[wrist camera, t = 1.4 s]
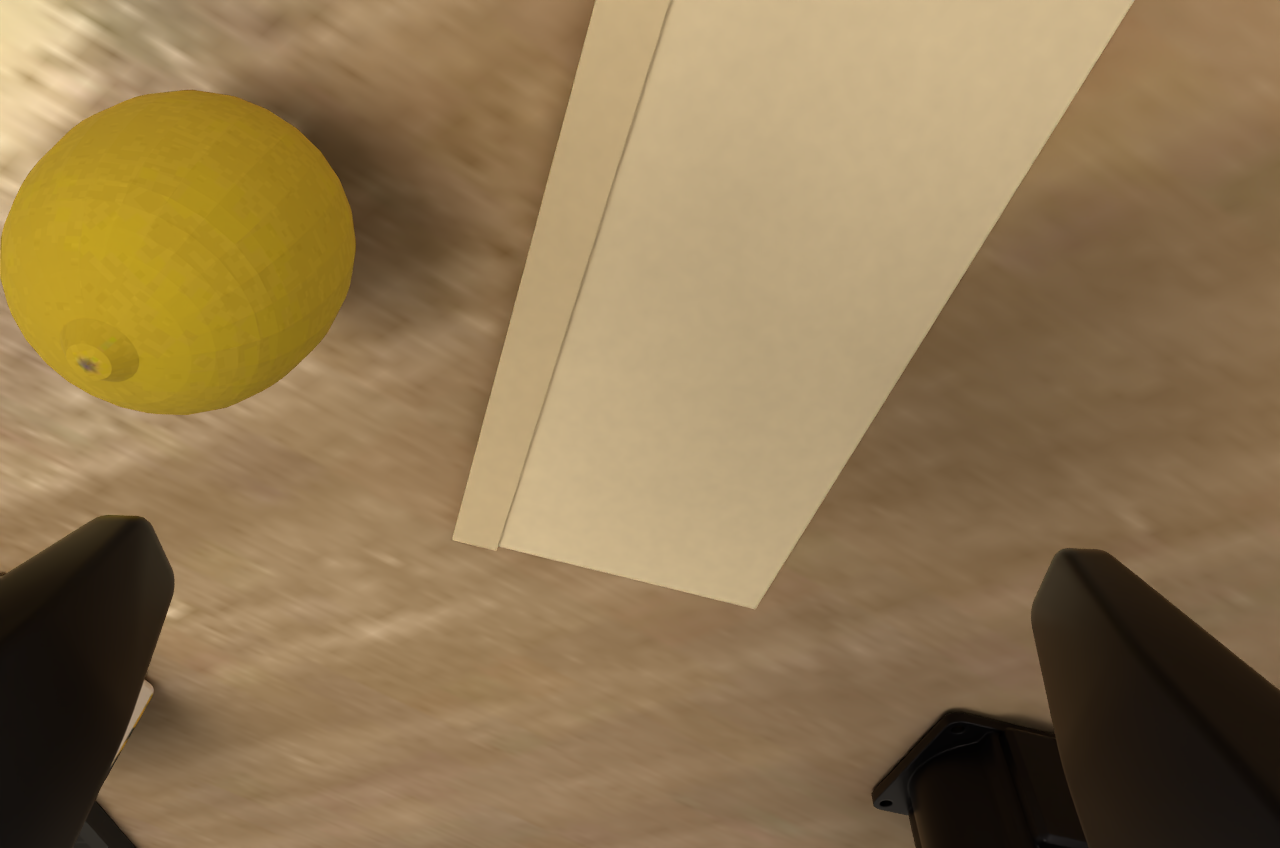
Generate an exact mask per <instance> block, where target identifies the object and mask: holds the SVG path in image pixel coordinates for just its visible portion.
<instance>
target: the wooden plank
mask: <svg viewBox="0 0 1280 848" xmlns="http://www.w3.org/2000/svg"><path fill="white" fill-rule="evenodd" d="M1133 2H1134V0H595V4H594V8H593V11H592V15H591V19H590V23H589V26H588V30H587V34H586V38H585V41H584V45H583V49H582V53H581V56H580V60H579V64H578V68H577V71H576V75H575V79H574V83H573V87H572V90H571V94H570V98H569V102H568V105H567V109H566V113H565V117H564V120H563V124H562V128H561V132H560V135H559V139H558V143H557V147H556V150H555V154H554V158H553V162H552V165H551V169H550V173H549V177H548V180H547V184H546V188H545V192H544V195H543V199H542V203H541V207H540V210H539V214H538V218H537V222H536V225H535V229H534V233H533V237H532V240H531V244H530V248H529V252H528V255H527V259H526V263H525V267H524V271H523V274H522V278H521V282H520V286H519V289H518V293H517V297H516V301H515V304H514V308H513V312H512V316H511V319H510V323H509V327H508V331H507V334H506V338H505V342H504V346H503V349H502V353H501V357H500V361H499V364H498V368H497V372H496V376H495V379H494V383H493V387H492V391H491V394H490V398H489V402H488V406H487V409H486V413H485V417H484V421H483V424H482V428H481V432H480V436H479V440H478V443H477V447H476V451H475V455H474V458H473V462H472V466H471V470H470V473H469V477H468V481H467V485H466V488H465V492H464V496H463V500H462V503H461V507H460V511H459V515H458V518H457V522H456V526H455V530H454V533H453V537H452V540H453V541H457V542H461V543H465V544H469V545H474V546H478V547H482V548H486V549H490V550H494V551H497V548H498V546H499V547H503V548H507V549H511V550H515V551H519V552H523V553H527V554H531V555H535V556H539V557H544V558H548V559H552V560H556V561H560V562H564V563H568V564H572V565H576V566H580V567H584V568H588V569H593V570H597V571H601V572H605V573H609V574H613V575H617V576H621V577H625V578H629V579H633V580H637V581H641V582H646V583H650V584H654V585H658V586H662V587H666V588H670V589H674V590H678V591H682V592H686V593H690V594H695V595H699V596H703V597H707V598H711V599H715V600H719V601H723V602H727V603H731V604H735V605H739V606H744V607H748V608H752V609H756V607H757V606H758V604H759V602H760V601H761V599H762V598H763V596H764V594H765V593H766V591H767V590H768V588H769V586H770V585H771V583H772V582H773V580H774V578H775V577H776V575H777V574H778V572H779V570H780V569H781V567H782V565H783V564H784V562H785V561H786V559H787V557H788V556H789V554H790V553H791V551H792V549H793V548H794V546H795V545H796V543H797V541H798V540H799V538H800V537H801V535H802V533H803V532H804V530H805V529H806V527H807V525H808V524H809V522H810V521H811V519H812V517H813V516H814V514H815V512H816V511H817V509H818V508H819V506H820V504H821V503H822V501H823V500H824V498H825V496H826V495H827V493H828V492H829V490H830V488H831V487H832V485H833V484H834V482H835V480H836V479H837V477H838V476H839V474H840V472H841V471H842V469H843V468H844V466H845V464H846V463H847V461H848V459H849V458H850V456H851V455H852V453H853V451H854V450H855V448H856V447H857V445H858V443H859V442H860V440H861V439H862V437H863V435H864V434H865V432H866V431H867V429H868V427H869V426H870V424H871V423H872V421H873V419H874V418H875V416H876V415H877V413H878V411H879V410H880V408H881V407H882V405H883V403H884V402H885V400H886V398H887V397H888V395H889V394H890V392H891V390H892V389H893V387H894V386H895V384H896V382H897V381H898V379H899V378H900V376H901V374H902V373H903V371H904V370H905V368H906V366H907V365H908V363H909V362H910V360H911V358H912V357H913V355H914V354H915V352H916V350H917V349H918V347H919V345H920V344H921V342H922V341H923V339H924V337H925V336H926V334H927V333H928V331H929V329H930V328H931V326H932V325H933V323H934V321H935V320H936V318H937V317H938V315H939V313H940V312H941V310H942V309H943V307H944V305H945V304H946V302H947V301H948V299H949V297H950V296H951V294H952V292H953V291H954V289H955V288H956V286H957V284H958V283H959V281H960V280H961V278H962V276H963V275H964V273H965V272H966V270H967V268H968V267H969V265H970V264H971V262H972V260H973V259H974V257H975V256H976V254H977V252H978V251H979V249H980V248H981V246H982V244H983V243H984V241H985V240H986V238H987V236H988V235H989V233H990V231H991V230H992V228H993V227H994V225H995V223H996V222H997V220H998V219H999V217H1000V215H1001V214H1002V212H1003V211H1004V209H1005V207H1006V206H1007V204H1008V203H1009V201H1010V199H1011V198H1012V196H1013V195H1014V193H1015V191H1016V190H1017V188H1018V187H1019V185H1020V183H1021V182H1022V180H1023V178H1024V177H1025V175H1026V174H1027V172H1028V170H1029V169H1030V167H1031V166H1032V164H1033V162H1034V161H1035V159H1036V158H1037V156H1038V154H1039V153H1040V151H1041V150H1042V148H1043V146H1044V145H1045V143H1046V142H1047V140H1048V138H1049V137H1050V135H1051V134H1052V132H1053V130H1054V129H1055V127H1056V125H1057V124H1058V122H1059V121H1060V119H1061V117H1062V116H1063V114H1064V113H1065V111H1066V109H1067V108H1068V106H1069V105H1070V103H1071V101H1072V100H1073V98H1074V97H1075V95H1076V93H1077V92H1078V90H1079V89H1080V87H1081V85H1082V84H1083V82H1084V81H1085V79H1086V77H1087V76H1088V74H1089V72H1090V71H1091V69H1092V68H1093V66H1094V64H1095V63H1096V61H1097V60H1098V58H1099V56H1100V55H1101V53H1102V52H1103V50H1104V48H1105V47H1106V45H1107V44H1108V42H1109V40H1110V39H1111V37H1112V36H1113V34H1114V32H1115V31H1116V29H1117V28H1118V26H1119V24H1120V23H1121V21H1122V20H1123V18H1124V16H1125V15H1126V13H1127V11H1128V10H1129V8H1130V7H1131V5H1132V3H1133Z"/></svg>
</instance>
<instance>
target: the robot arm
mask: <svg viewBox="0 0 1280 848" xmlns="http://www.w3.org/2000/svg"><path fill="white" fill-rule="evenodd" d="M173 592H174V574H173V570H172V567H171V565H170V563H169V561H168V559H167V557H166V555H165V552H164V550H163V548H162V546H161V544H160V542H159V540H158V537H157V535H156V533H155V531H154V529H153V527H152V525H151V523H150V522H148V521H147V520H146V519H145V518H143V517H139V516H119V515H105V516H100V517H97V518H95V519H93V520H92V521H90V522H88V523H87V524H85V525H83V526H82V527H80V528H79V529H77V530H75V531H74V532H72V533H71V534H69V535H67V536H66V537H64V538H63V539H61V540H59V541H58V542H56V543H55V544H53V545H51V546H50V547H48V548H47V549H45V550H43V551H42V552H40V553H39V554H37V555H35V556H34V557H32V558H31V559H29V560H27V561H26V562H24V563H23V564H21V565H19V566H18V567H16V568H15V569H13V570H11V571H10V572H8V573H7V574H5V575H3V576H2V577H0V848H73V846H74V844H75V842H76V840H77V838H78V836H79V834H80V831H81V829H82V827H83V825H84V823H85V821H86V818H87V816H88V814H89V812H90V810H91V808H92V806H93V803H94V801H95V799H96V797H97V795H98V793H99V790H100V788H101V786H102V784H103V782H104V780H105V778H106V775H107V773H108V771H109V769H110V767H111V765H112V762H113V760H114V758H115V756H116V754H117V751H118V749H119V747H120V744H121V742H122V740H123V738H124V735H125V733H126V730H127V727H128V725H129V722H130V719H131V717H132V714H133V711H134V709H135V706H136V703H137V700H138V697H139V694H140V691H141V688H142V685H143V682H144V679H145V676H146V673H147V670H148V667H149V664H150V661H151V658H152V655H153V653H154V650H155V647H156V644H157V641H158V638H159V635H160V632H161V629H162V626H163V623H164V620H165V617H166V614H167V611H168V608H169V605H170V602H171V600H172V596H173ZM1031 622H1032V629H1033V633H1034V638H1035V643H1036V647H1037V652H1038V657H1039V661H1040V666H1041V671H1042V676H1043V680H1044V685H1045V690H1046V694H1047V699H1048V704H1049V708H1050V713H1051V718H1052V722H1053V727H1054V732H1055V734H1052V733H1048V732H1043V731H1039V730H1035V729H1031V728H1026V727H1022V726H1018V725H1013V724H1009V723H1005V722H1001V721H996V720H992V719H988V718H984V717H979V716H975V715H971V714H966V713H962V712H954V713H950V714H947V715H945V716H944V717H943V718H942V719H941V720H940V721H939V722H938V723H937V724H936V725H935V726H934V727H933V728H932V729H931V731H930V732H929V733H928V734H927V735H926V736H925V737H924V738H923V739H922V740H921V741H920V742H919V743H918V744H917V745H916V746H915V747H914V749H913V750H912V751H911V752H910V753H909V754H908V755H907V756H906V757H905V758H904V759H903V760H902V761H901V762H900V763H899V764H898V765H897V767H896V768H895V769H894V770H893V771H892V772H891V773H890V774H889V775H888V776H887V777H886V778H885V779H884V780H883V781H882V782H881V784H880V785H879V786H878V787H877V788H876V789H875V790H874V791H873V792H872V799H873V804H874V807H876V808H877V809H880V810H885V811H890V812H894V813H899V814H904V815H909V819H910V824H911V828H912V833H913V837H914V842H915V846H916V848H1280V690H1278V689H1277V688H1276V687H1275V686H1273V685H1272V684H1271V683H1270V682H1269V681H1267V680H1266V679H1265V678H1264V677H1262V676H1261V675H1260V674H1259V673H1257V672H1256V671H1255V670H1254V669H1252V668H1251V667H1250V666H1249V665H1247V664H1246V663H1245V662H1244V661H1242V660H1241V659H1240V658H1239V657H1237V656H1236V655H1235V654H1234V653H1233V652H1231V651H1230V650H1229V649H1228V648H1226V647H1225V646H1224V645H1223V644H1221V643H1220V642H1219V641H1218V640H1216V639H1215V638H1214V637H1213V636H1211V635H1210V634H1209V633H1208V632H1206V631H1205V630H1204V629H1203V628H1201V627H1200V626H1199V625H1198V624H1196V623H1195V622H1194V621H1193V620H1192V619H1190V618H1189V617H1188V616H1187V615H1185V614H1184V613H1183V612H1182V611H1180V610H1179V609H1178V608H1177V607H1175V606H1174V605H1173V604H1172V603H1170V602H1169V601H1168V600H1167V599H1165V598H1164V597H1163V596H1162V595H1160V594H1159V593H1158V592H1157V591H1156V590H1154V589H1153V588H1152V587H1151V586H1149V585H1148V584H1147V583H1146V582H1144V581H1143V580H1142V579H1141V578H1139V577H1138V576H1137V575H1136V574H1134V573H1133V572H1132V571H1131V570H1129V569H1128V568H1127V567H1126V566H1124V565H1123V564H1122V563H1121V562H1119V561H1118V560H1117V559H1116V558H1115V557H1113V556H1112V555H1110V554H1109V553H1107V552H1105V551H1102V550H1098V549H1073V548H1066V549H1062V550H1060V551H1059V552H1058V553H1056V554H1055V556H1054V558H1053V559H1052V562H1051V564H1050V566H1049V568H1048V570H1047V573H1046V575H1045V577H1044V579H1043V581H1042V583H1041V586H1040V588H1039V590H1038V592H1037V594H1036V597H1035V599H1034V602H1033V605H1032V611H1031Z"/></svg>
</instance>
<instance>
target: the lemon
mask: <svg viewBox="0 0 1280 848" xmlns="http://www.w3.org/2000/svg"><path fill="white" fill-rule="evenodd" d="M355 250H356V240H355V233H354V226H353V218H352V212H351V207H350V205H349V202H348V200H347V197H346V195H345V192H344V190H343V187H342V185H341V182H340V180H339V178H338V177H337V175H336V174H335V172H334V171H333V169H332V168H331V166H330V165H329V163H328V162H327V160H326V159H325V157H324V156H323V154H322V153H321V152H320V150H318V149H317V148H316V147H315V146H314V145H313V144H312V143H311V142H310V141H309V140H308V139H307V138H306V137H305V136H304V135H303V134H302V133H301V132H300V131H299V130H298V129H297V128H295V127H294V126H292V125H291V124H289V123H287V122H286V121H284V120H283V119H281V118H280V117H278V116H277V115H275V114H274V113H272V112H271V111H269V110H267V109H265V108H263V107H260V106H258V105H255V104H252V103H250V102H247V101H245V100H242V99H240V98H237V97H234V96H229V95H223V94H216V93H210V92H203V91H196V90H182V91H173V92H164V93H155V94H147V95H142V96H138V97H135V98H132V99H129V100H126V101H124V102H122V103H119V104H117V105H115V106H113V107H110V108H108V109H106V110H103V111H101V112H99V113H97V114H94V115H92V116H91V117H89V118H87V119H85V120H83V121H82V122H80V123H79V124H78V125H76V126H75V127H73V128H72V129H71V130H70V131H69V132H68V133H67V134H66V135H65V136H64V137H63V138H62V139H61V140H60V141H59V142H58V143H57V144H56V145H55V146H54V147H53V148H52V149H51V150H50V151H48V152H47V153H46V154H45V155H44V156H43V157H42V158H41V159H40V160H39V161H38V163H37V164H36V165H35V166H34V168H33V169H32V170H31V171H30V173H29V174H28V176H27V177H26V179H25V180H24V182H23V183H22V185H21V187H20V189H19V191H18V194H17V196H16V198H15V200H14V202H13V205H12V207H11V210H10V212H9V215H8V217H7V219H6V222H5V224H4V228H3V232H2V236H1V255H0V276H1V282H2V285H3V289H4V292H5V296H6V300H7V303H8V306H9V309H10V311H11V314H12V316H13V318H14V320H15V321H16V323H17V325H18V327H19V328H20V330H21V332H22V334H23V335H24V337H25V339H26V340H27V341H28V343H29V344H30V345H31V346H32V347H33V348H34V350H35V351H36V352H37V353H38V354H39V355H40V357H41V358H42V359H43V360H44V361H45V362H46V363H47V364H48V365H49V366H50V367H51V368H52V369H54V370H55V371H56V372H57V373H58V374H60V375H61V376H62V377H63V378H65V379H66V380H67V381H68V382H70V383H72V384H73V385H75V386H77V387H78V388H80V389H82V390H83V391H85V392H87V393H89V394H90V395H93V396H95V397H97V398H100V399H102V400H105V401H107V402H110V403H112V404H115V405H117V406H120V407H123V408H128V409H132V410H137V411H141V412H146V413H153V414H175V415H189V414H195V413H200V412H205V411H211V410H216V409H221V408H226V407H229V406H231V405H234V404H236V403H239V402H241V401H243V400H245V399H247V398H249V397H251V396H253V395H255V394H257V393H259V392H261V391H263V390H265V389H267V388H268V387H270V386H272V385H273V384H275V383H276V382H278V381H279V380H280V379H282V378H283V377H284V376H286V375H287V374H288V373H289V372H290V371H291V370H292V369H294V368H295V367H296V366H297V365H298V364H299V363H300V362H301V361H302V360H303V359H304V358H305V357H306V356H307V355H308V354H309V353H310V352H311V351H312V350H313V349H314V348H315V347H316V346H317V345H318V344H319V343H320V342H321V340H322V339H323V338H324V336H325V335H326V334H327V332H328V330H329V329H330V327H331V325H332V323H333V321H334V319H335V317H336V315H337V313H338V311H339V310H340V308H341V306H342V304H343V302H344V300H345V298H346V295H347V292H348V290H349V286H350V282H351V277H352V270H353V264H354V257H355Z"/></svg>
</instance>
